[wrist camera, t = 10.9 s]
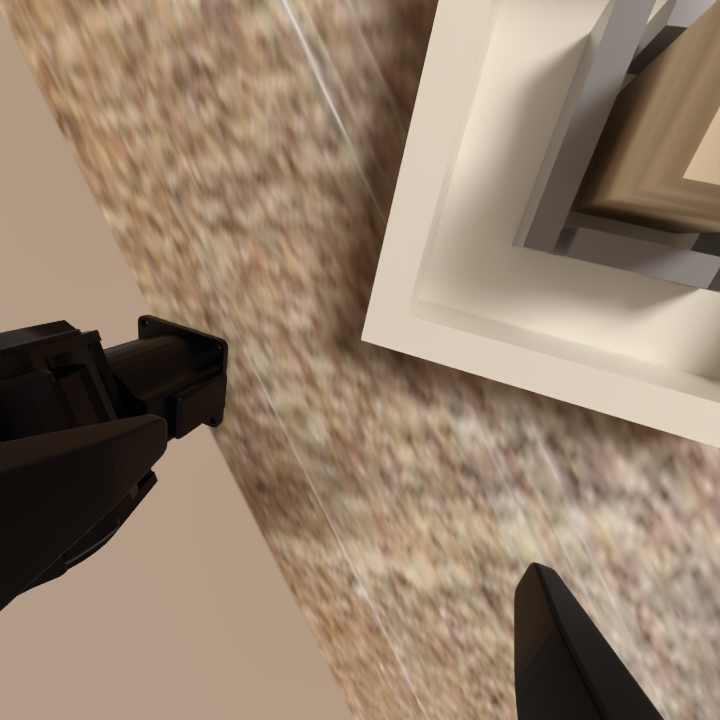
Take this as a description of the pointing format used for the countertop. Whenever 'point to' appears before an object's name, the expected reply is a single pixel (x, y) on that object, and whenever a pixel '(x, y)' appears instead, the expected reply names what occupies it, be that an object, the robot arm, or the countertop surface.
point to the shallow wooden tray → (545, 220)
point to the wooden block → (663, 141)
